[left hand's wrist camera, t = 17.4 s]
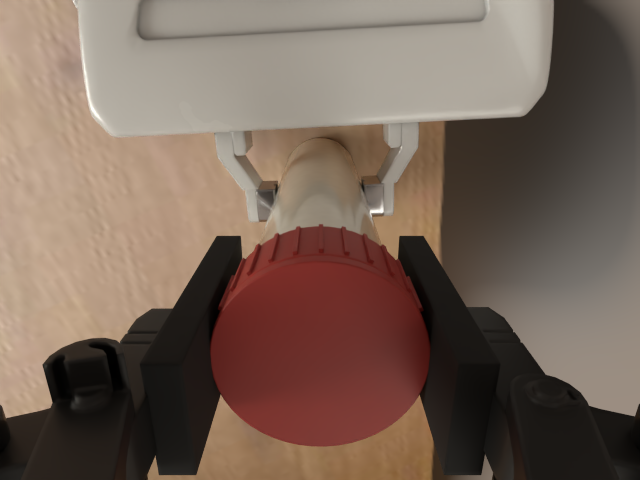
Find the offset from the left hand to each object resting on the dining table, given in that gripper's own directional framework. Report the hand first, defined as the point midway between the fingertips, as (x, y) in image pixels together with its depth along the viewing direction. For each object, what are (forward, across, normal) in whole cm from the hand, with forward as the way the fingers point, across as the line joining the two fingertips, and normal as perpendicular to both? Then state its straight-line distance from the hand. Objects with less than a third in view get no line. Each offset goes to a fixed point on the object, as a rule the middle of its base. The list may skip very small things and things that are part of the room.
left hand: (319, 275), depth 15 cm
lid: (-4, 0, 0) cm, 4 cm away
